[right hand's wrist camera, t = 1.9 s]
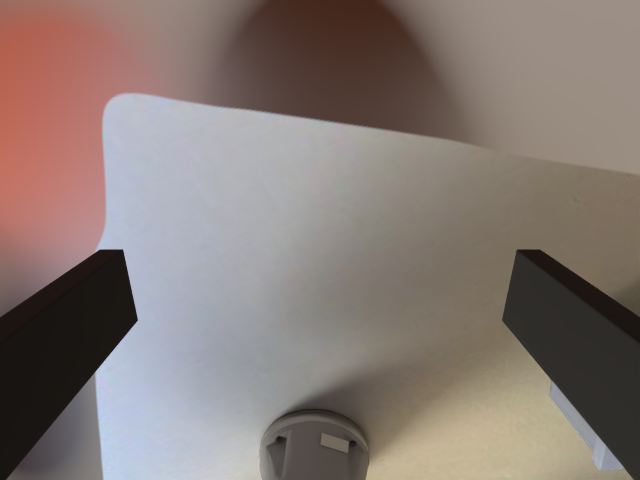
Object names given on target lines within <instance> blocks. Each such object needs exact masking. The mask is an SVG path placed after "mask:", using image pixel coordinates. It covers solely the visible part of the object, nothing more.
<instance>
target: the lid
mask: <svg viewBox="0 0 640 480" xmlns="http://www.w3.org/2000/svg"><path fill="white" fill-rule="evenodd" d="M592 460H593V462H594V463H595V464H596V466H597V467H598V468H599V470H613V469H625V468H624V467H623V466H622V465H621V463H620V462H619V461H618V460H617V459H616V457H615V456H614V455H613V454H612V452H611V451H610V450H609V449H608V448H607V446H606V445H605V444H604V443H603V442H602V440H601V439H600V438H599V437H598V436H597V437H596V442H595V447H594V452H593V457H592Z"/></svg>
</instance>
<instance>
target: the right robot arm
mask: <svg viewBox="0 0 640 480" xmlns="http://www.w3.org/2000/svg"><path fill="white" fill-rule="evenodd" d="M137 321H138V318H137V314H136V309H135V304H134V299H133V295H132V290H131V285H130V280H129V276H128V271H127V266H126V261H125V257H124V252H123V250H99V251H97V252H96V253H94V254H93V255H91V256H90V257H88V258H87V259H86V260H84V261H83V262H81V263H80V264H78V265H77V266H75V267H74V268H72V269H71V270H69V271H68V272H66V273H65V274H63V275H62V276H60V277H59V278H58V279H56V280H55V281H53V282H52V283H50V284H49V285H47V286H46V287H44V288H43V289H41V290H40V291H38V292H37V293H35V294H34V295H33V296H31V297H30V298H28V299H27V300H25V301H24V302H22V303H21V304H19V305H18V306H16V307H15V308H13V309H12V310H10V311H9V312H7V313H6V314H5V315H3V316H2V317H0V480H6V479H7V478H8V477H9V475H10V474H11V473H12V472H13V471H14V469H15V468H16V467H17V466H18V464H19V463H20V462H21V461H22V460H23V459H24V457H25V456H26V455H27V454H28V452H29V451H30V450H31V449H32V448H33V446H34V445H35V444H36V443H37V442H38V440H39V439H40V438H41V437H42V436H43V434H44V433H45V432H46V431H47V430H48V428H49V427H50V426H51V425H52V423H53V422H54V421H55V420H56V419H57V417H58V416H59V415H60V414H61V413H62V411H63V410H64V409H65V408H66V407H67V405H68V404H69V403H70V402H71V401H72V399H73V398H74V397H75V396H76V394H77V393H78V392H79V391H80V390H81V388H82V387H83V386H84V385H85V384H86V382H87V381H88V380H89V379H90V378H91V376H92V375H93V374H94V373H95V372H96V370H97V369H98V368H99V367H100V365H101V364H102V363H103V362H104V361H105V359H106V358H107V357H108V356H109V355H110V353H111V352H112V351H113V350H114V349H115V347H116V346H117V345H118V344H119V343H120V341H121V340H122V339H123V338H124V336H125V335H126V334H127V333H128V332H129V330H130V329H131V328H132V327H133V326H134V324H135V323H136V322H137ZM502 321H503V322H504V323H505V324H506V326H507V327H508V328H509V329H510V330H511V332H512V333H513V334H514V335H515V336H516V338H517V339H518V340H519V341H520V343H521V344H522V345H523V346H524V347H525V349H526V350H527V351H528V352H529V353H530V355H531V356H532V357H533V358H534V359H535V361H536V362H537V363H538V364H539V365H540V367H541V368H542V369H543V370H544V372H545V373H546V374H547V375H548V376H549V378H550V379H551V380H552V381H553V382H554V384H555V385H556V386H557V387H558V388H559V390H560V391H561V392H562V393H563V394H564V396H565V397H566V398H567V399H568V401H569V402H570V403H571V404H572V405H573V407H574V408H575V409H576V410H577V411H578V413H579V414H580V415H581V416H582V417H583V419H584V420H585V421H586V422H587V423H588V425H589V426H590V427H591V428H592V430H593V431H594V432H595V433H596V434H597V436H598V437H599V438H600V439H601V440H602V442H603V443H604V444H605V445H606V446H607V448H608V449H609V450H610V451H611V452H612V454H613V455H614V456H615V457H616V459H617V460H618V461H619V462H620V463H621V465H622V466H623V467H624V468H625V469H626V471H627V472H628V473H629V474H630V475H631V477H632V478H633V479H634V480H640V317H638V316H637V315H636V314H634V313H633V312H631V311H630V310H628V309H627V308H625V307H624V306H622V305H621V304H619V303H618V302H616V301H615V300H613V299H612V298H610V297H609V296H608V295H606V294H605V293H603V292H602V291H600V290H599V289H597V288H596V287H594V286H593V285H591V284H590V283H588V282H587V281H585V280H584V279H583V278H581V277H580V276H578V275H577V274H575V273H574V272H572V271H571V270H569V269H568V268H566V267H565V266H563V265H562V264H560V263H559V262H557V261H556V260H555V259H553V258H552V257H550V256H549V255H547V254H546V253H544V252H543V251H541V250H517V252H516V257H515V261H514V266H513V271H512V276H511V280H510V285H509V290H508V295H507V299H506V304H505V309H504V314H503V318H502ZM368 465H369V455H368V447H367V442H366V438H365V436H364V434H363V433H362V431H361V430H360V429H359V427H358V426H357V425H356V424H354V423H353V422H352V421H350V420H349V419H347V418H345V417H344V416H341V415H339V414H336V413H333V412H329V411H323V410H305V411H299V412H294V413H291V414H288V415H286V416H284V417H282V418H280V419H278V420H277V421H276V422H274V423H273V424H272V425H271V426H270V427H269V428H268V429H267V431H266V432H265V434H264V436H263V438H262V441H261V446H260V452H259V466H260V472H261V478H262V480H365V479H366V474H367V470H368Z"/></svg>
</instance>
